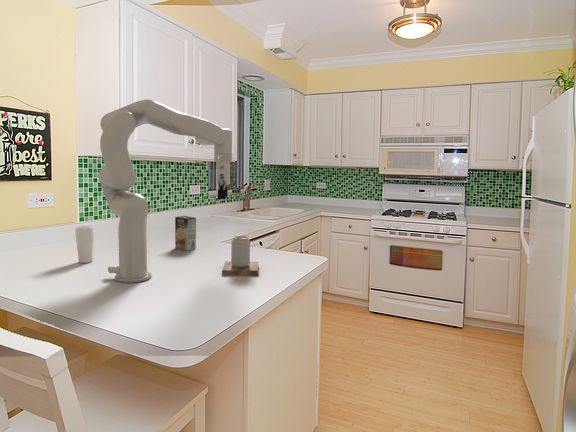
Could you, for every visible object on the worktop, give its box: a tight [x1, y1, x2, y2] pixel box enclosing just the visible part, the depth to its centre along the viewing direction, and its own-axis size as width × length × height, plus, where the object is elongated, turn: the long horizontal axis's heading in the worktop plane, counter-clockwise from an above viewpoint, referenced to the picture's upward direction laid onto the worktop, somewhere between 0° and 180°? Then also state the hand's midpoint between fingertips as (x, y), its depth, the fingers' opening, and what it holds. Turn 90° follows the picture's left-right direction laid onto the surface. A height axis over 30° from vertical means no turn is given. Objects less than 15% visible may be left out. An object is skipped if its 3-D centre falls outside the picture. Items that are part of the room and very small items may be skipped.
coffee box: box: [174, 215, 197, 251], centre depth 195 cm, size 9×6×16 cm
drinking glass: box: [75, 225, 95, 264], centre depth 162 cm, size 7×7×15 cm
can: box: [230, 235, 251, 268], centre depth 156 cm, size 8×8×12 cm
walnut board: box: [221, 260, 259, 277], centre depth 157 cm, size 14×14×2 cm
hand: (222, 198), depth 167 cm, fingers open, 9 cm apart
